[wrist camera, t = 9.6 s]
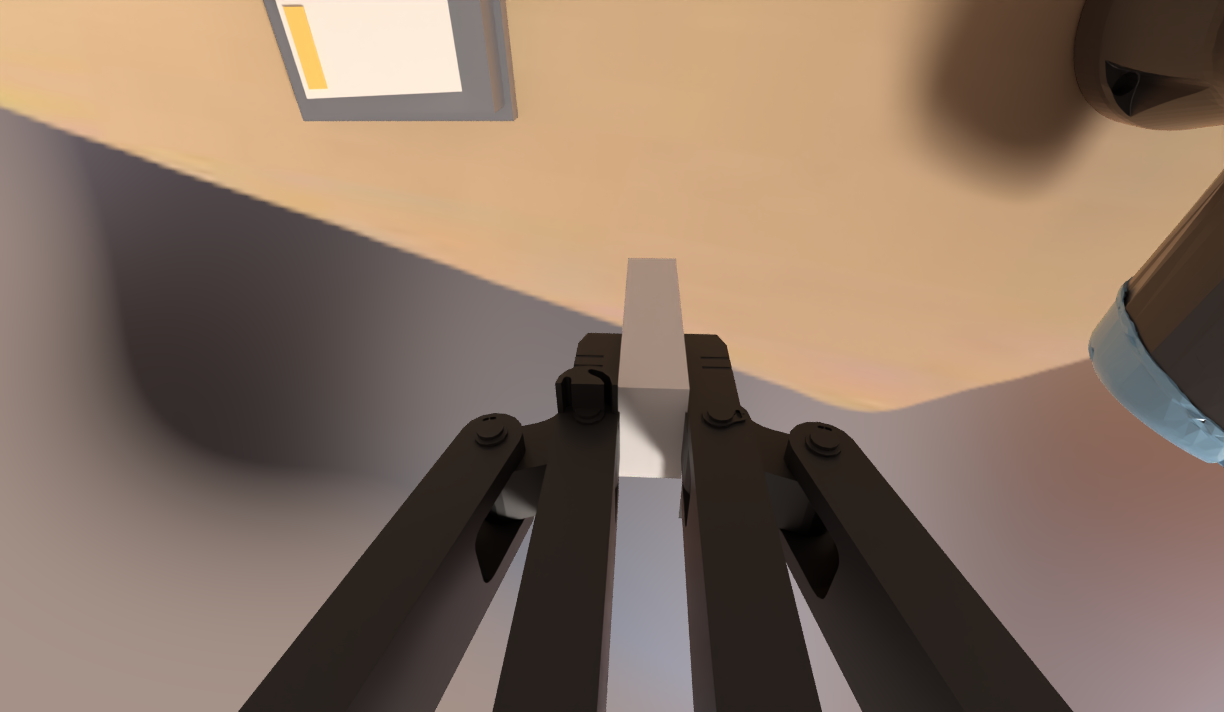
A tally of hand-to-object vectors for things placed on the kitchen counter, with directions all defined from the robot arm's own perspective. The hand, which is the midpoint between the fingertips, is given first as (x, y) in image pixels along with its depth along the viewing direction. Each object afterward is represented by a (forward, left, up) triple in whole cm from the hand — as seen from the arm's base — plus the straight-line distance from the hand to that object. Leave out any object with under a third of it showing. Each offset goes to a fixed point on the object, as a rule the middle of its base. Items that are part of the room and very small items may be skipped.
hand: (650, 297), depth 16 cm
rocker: (+16, -6, -20) cm, 26 cm away
